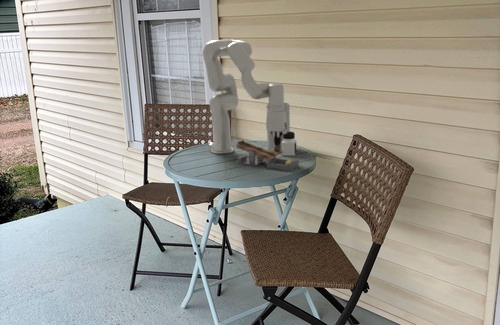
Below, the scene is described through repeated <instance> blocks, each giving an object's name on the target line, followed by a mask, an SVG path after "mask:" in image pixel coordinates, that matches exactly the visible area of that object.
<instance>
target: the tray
mask: <svg viewBox="0 0 500 325" xmlns="http://www.w3.org/2000/svg"><path fill="white" fill-rule="evenodd" d="M288 160H289V159H285V158H283V159H282V158H277V157H276V158H274V159H272V160H270V161H269V160H267V162H266V169H270V170H271V169H272V170H278V171H284V172H291V171H293V170H294V169H296V168H299V166H300V165H299V164H300V162H299V161H300V160H299V159H295V160H292V159H291V161H292V162H290V163H288V164H287V165H286V161H288Z"/></svg>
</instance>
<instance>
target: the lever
mask: <svg viewBox="0 0 500 325" xmlns="http://www.w3.org/2000/svg"><path fill="white" fill-rule="evenodd" d="M280 147H281V145H280V144H279V145H275V147H274V149H271V150H269V149H268V150H267V149H265V148H263V147H260V146H256V145H254V144H252V143H249V142H247V141H245V140H239V141H237V143H236V147H235V148H236V149H238V150H241V151H244V152H246V153H249V151H255V156H256V157H257V156H259V157H262V158H263V160H267V161H270V160H273V159H275V158H277V156H279V155H280V154H281V155H282V153H283V151H281V150H280ZM262 148H263V149H262Z"/></svg>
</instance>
